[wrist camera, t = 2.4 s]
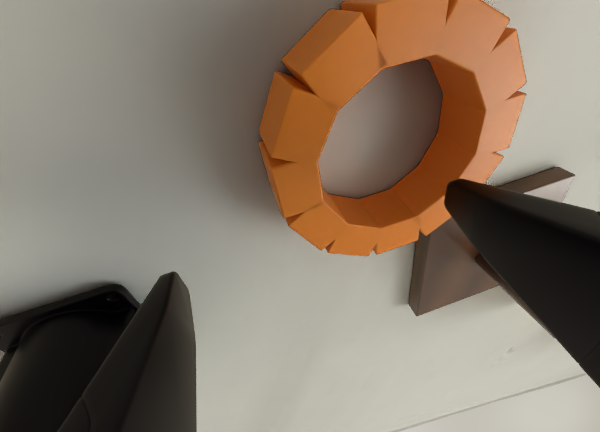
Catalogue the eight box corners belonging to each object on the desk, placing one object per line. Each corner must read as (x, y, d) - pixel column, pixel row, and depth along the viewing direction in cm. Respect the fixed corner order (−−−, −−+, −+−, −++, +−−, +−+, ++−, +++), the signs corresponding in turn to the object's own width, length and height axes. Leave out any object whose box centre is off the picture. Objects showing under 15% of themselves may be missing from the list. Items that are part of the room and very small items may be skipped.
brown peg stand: (408, 304, 24) (471, 396, 19) (419, 212, 18) (519, 309, 12) (513, 265, 25) (601, 341, 20) (558, 165, 19) (707, 236, 13)
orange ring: (287, 246, 17) (300, 281, 15) (226, 28, 10) (234, 37, 8) (454, 191, 18) (487, 217, 16) (501, -37, 11) (570, -44, 9)
